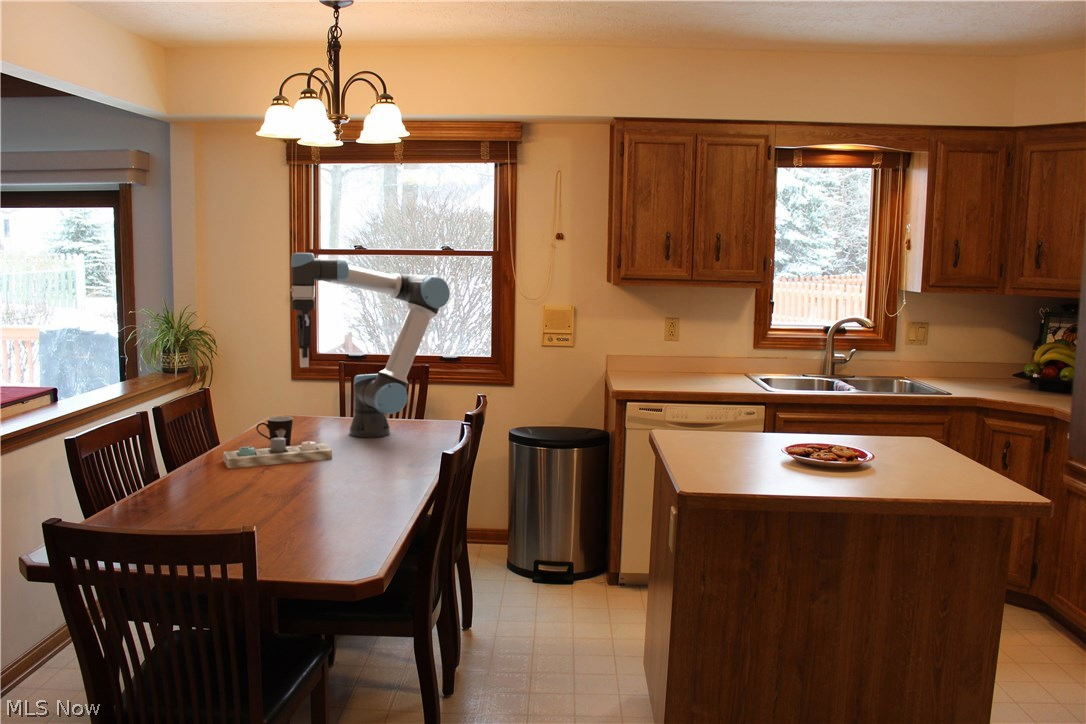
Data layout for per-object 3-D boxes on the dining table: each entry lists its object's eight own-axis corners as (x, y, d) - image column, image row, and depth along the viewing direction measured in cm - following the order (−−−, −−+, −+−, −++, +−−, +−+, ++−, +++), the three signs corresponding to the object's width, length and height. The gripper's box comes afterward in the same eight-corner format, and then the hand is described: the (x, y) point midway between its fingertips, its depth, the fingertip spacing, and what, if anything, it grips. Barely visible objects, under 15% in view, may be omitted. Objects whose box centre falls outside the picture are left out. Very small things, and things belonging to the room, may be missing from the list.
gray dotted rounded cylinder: (284, 450, 284) (284, 436, 284) (287, 453, 280) (286, 439, 279) (269, 451, 282) (269, 437, 281) (272, 454, 278) (271, 440, 277)
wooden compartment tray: (324, 451, 294) (324, 443, 293) (332, 458, 284) (332, 450, 284) (223, 460, 278) (223, 451, 278) (228, 468, 269) (227, 459, 268)
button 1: (314, 453, 289) (314, 440, 288) (317, 457, 285) (317, 443, 284) (300, 455, 287) (299, 441, 286) (303, 458, 283) (302, 444, 282)
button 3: (253, 459, 280) (253, 445, 279) (255, 462, 276) (255, 448, 275) (238, 460, 278) (237, 446, 277) (240, 464, 273) (239, 449, 273)
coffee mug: (297, 444, 304) (296, 416, 303) (287, 449, 295) (287, 421, 294) (265, 442, 305) (265, 415, 304) (255, 448, 297) (254, 420, 295)
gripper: (288, 297, 292) (289, 364, 295) (296, 299, 281) (297, 369, 284) (310, 297, 296) (311, 364, 299) (318, 299, 284) (319, 368, 287)
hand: (304, 366), depth 291 cm, fingers closed
